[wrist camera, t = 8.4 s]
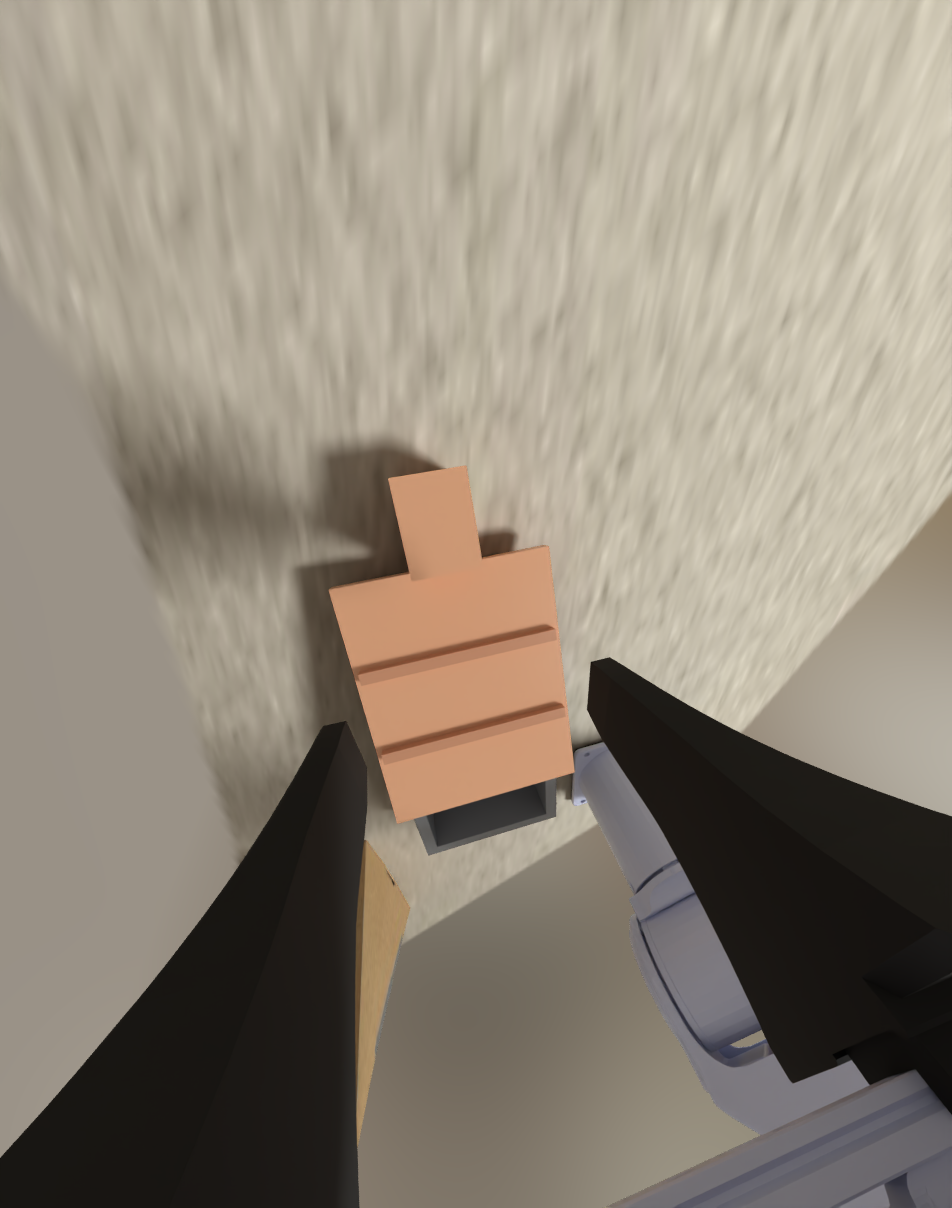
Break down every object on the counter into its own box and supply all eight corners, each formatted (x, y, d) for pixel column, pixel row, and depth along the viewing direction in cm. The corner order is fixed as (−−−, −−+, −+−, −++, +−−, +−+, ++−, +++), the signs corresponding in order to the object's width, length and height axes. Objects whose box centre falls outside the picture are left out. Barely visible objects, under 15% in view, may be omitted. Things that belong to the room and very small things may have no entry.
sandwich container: (331, 934, 36) (301, 1222, 23) (263, 869, 28) (160, 1254, 15) (412, 907, 37) (426, 1169, 24) (369, 836, 29) (354, 1172, 16)
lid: (533, 462, 17) (559, 450, 14) (569, 764, 21) (594, 802, 18) (306, 499, 15) (281, 495, 12) (398, 813, 20) (395, 863, 17)
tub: (535, 659, 23) (557, 697, 20) (539, 775, 30) (556, 816, 27) (384, 696, 22) (383, 742, 19) (424, 808, 28) (428, 855, 25)
